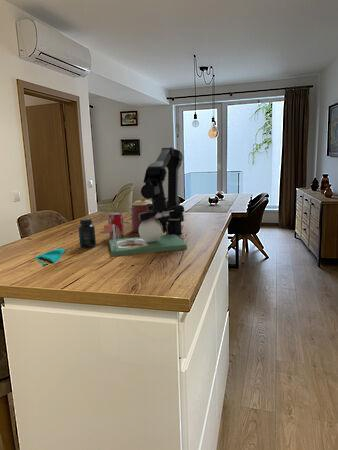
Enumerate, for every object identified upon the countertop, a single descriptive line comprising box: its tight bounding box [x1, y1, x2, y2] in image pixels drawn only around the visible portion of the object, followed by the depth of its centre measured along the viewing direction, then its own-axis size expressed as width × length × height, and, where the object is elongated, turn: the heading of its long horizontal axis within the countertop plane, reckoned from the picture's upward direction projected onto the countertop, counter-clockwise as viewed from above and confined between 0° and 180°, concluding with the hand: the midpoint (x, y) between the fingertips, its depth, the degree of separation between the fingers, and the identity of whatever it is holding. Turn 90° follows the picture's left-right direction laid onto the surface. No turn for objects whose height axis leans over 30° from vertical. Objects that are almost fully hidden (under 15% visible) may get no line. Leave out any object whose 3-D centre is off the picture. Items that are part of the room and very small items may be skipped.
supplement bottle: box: [78, 218, 97, 249], centre depth 144 cm, size 7×7×12 cm
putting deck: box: [103, 224, 188, 257], centre depth 141 cm, size 32×20×12 cm, turn 103°
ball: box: [138, 219, 163, 242], centre depth 141 cm, size 10×10×10 cm
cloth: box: [34, 247, 67, 267], centre depth 132 cm, size 26×14×2 cm, turn 172°
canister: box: [130, 196, 156, 234], centre depth 173 cm, size 13×13×18 cm
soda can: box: [107, 211, 125, 240], centre depth 158 cm, size 7×7×12 cm
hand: (165, 232), depth 141 cm, fingers closed
